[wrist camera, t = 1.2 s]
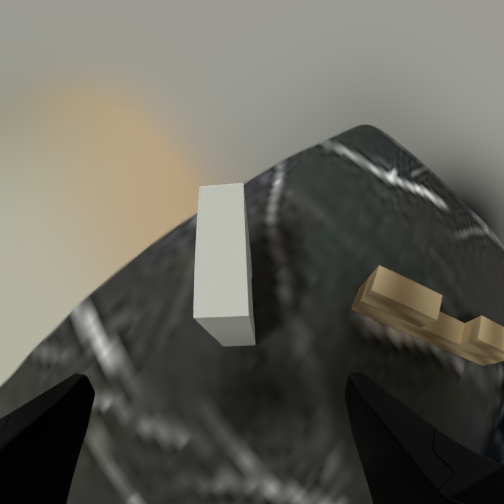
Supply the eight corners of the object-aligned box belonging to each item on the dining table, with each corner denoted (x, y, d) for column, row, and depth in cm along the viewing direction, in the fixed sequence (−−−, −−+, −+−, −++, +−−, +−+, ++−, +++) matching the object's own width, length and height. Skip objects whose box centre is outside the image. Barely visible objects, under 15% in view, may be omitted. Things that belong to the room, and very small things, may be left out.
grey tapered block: (255, 345, 21) (248, 315, 12) (223, 346, 21) (193, 317, 12) (251, 258, 25) (243, 183, 16) (222, 260, 25) (199, 186, 16)
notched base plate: (486, 347, 19) (519, 335, 15) (482, 365, 18) (515, 357, 14) (358, 288, 23) (379, 265, 18) (351, 309, 22) (371, 289, 18)
